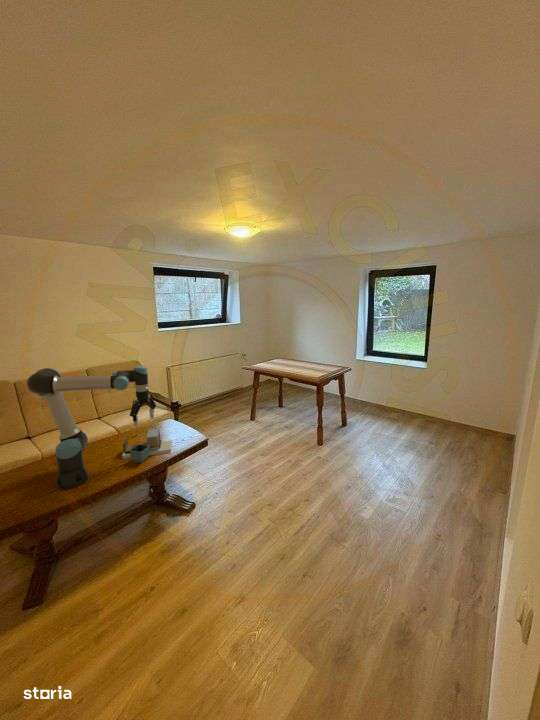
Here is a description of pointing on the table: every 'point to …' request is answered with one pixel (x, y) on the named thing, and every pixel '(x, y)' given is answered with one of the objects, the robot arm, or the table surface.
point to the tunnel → (153, 434)
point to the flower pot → (139, 453)
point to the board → (164, 449)
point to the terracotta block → (153, 442)
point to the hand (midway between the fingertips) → (144, 421)
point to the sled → (128, 447)
